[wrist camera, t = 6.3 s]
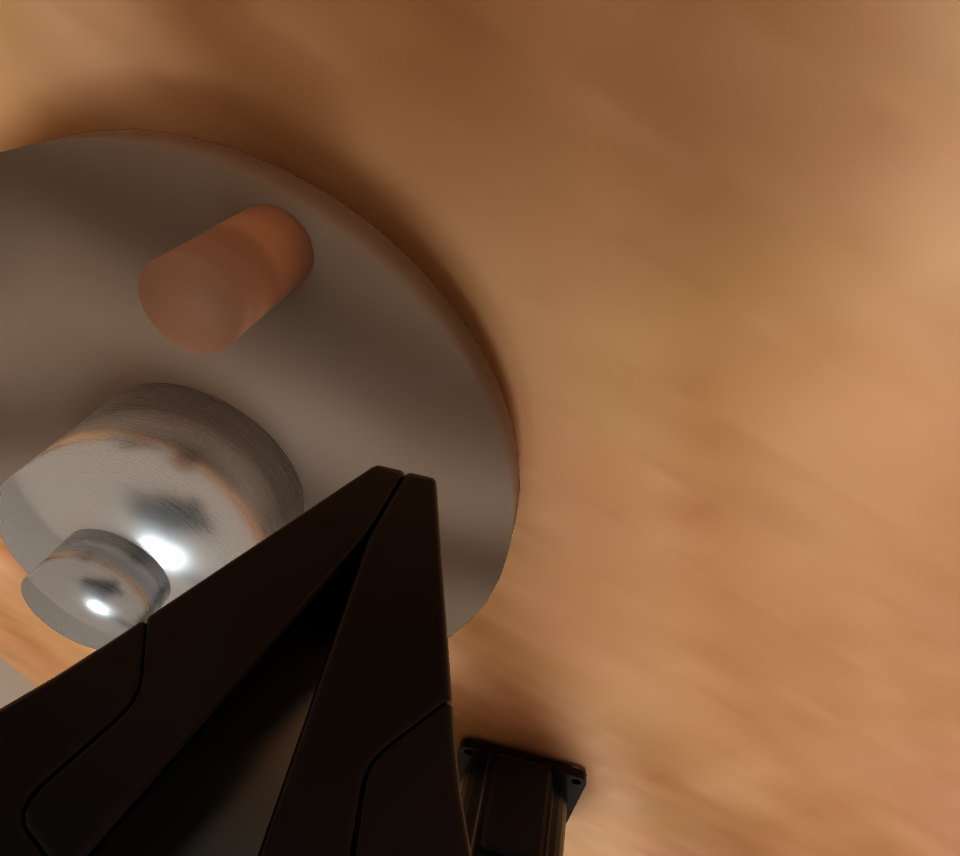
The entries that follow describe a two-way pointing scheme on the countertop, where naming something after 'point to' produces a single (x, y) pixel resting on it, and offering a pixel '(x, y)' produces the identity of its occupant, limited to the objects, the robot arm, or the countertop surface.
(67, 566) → the aluminium cover
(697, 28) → the countertop surface
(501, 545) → the turntable
